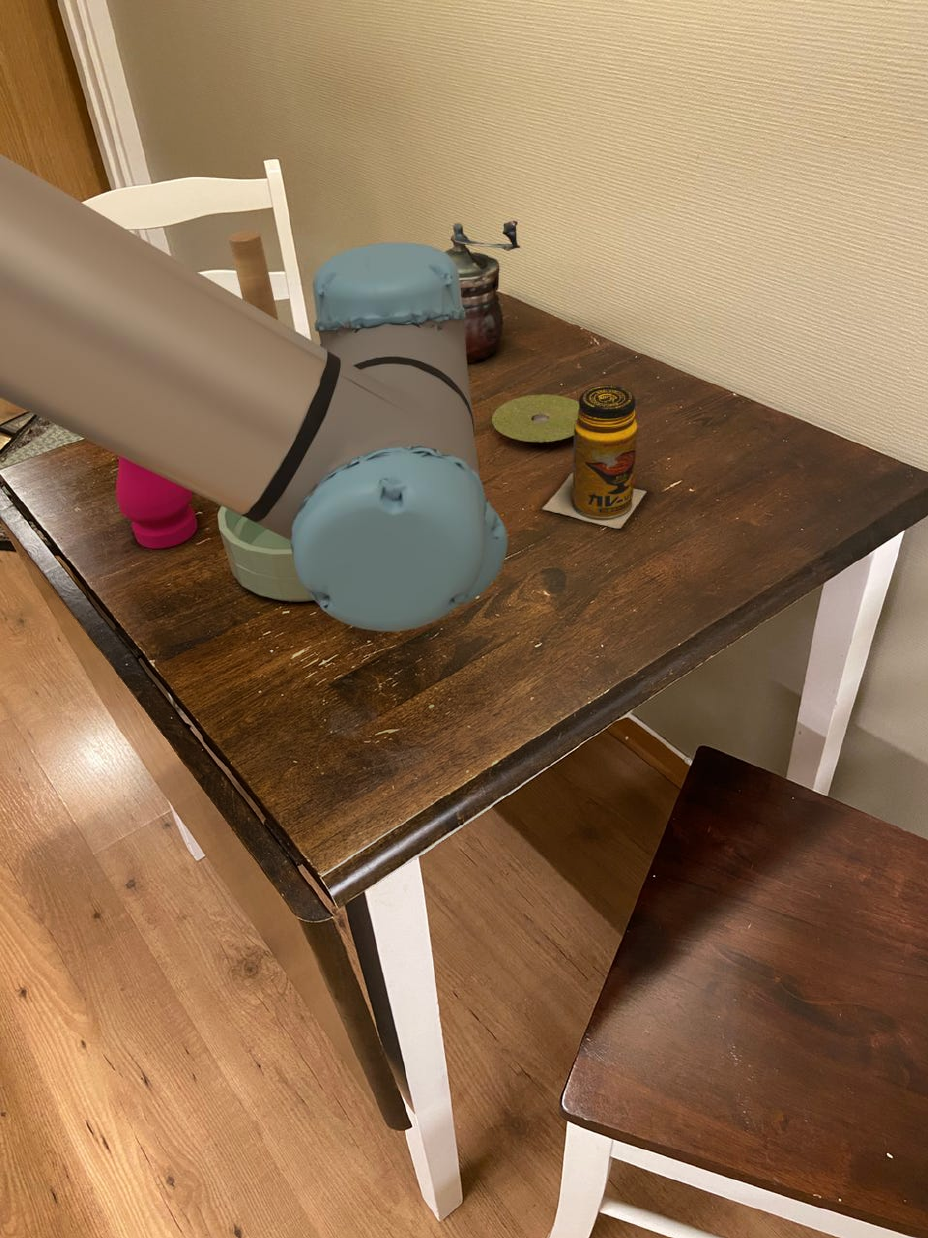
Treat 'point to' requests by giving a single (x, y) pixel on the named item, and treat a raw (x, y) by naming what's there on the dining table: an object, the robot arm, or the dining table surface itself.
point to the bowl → (260, 558)
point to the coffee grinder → (480, 291)
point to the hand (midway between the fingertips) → (252, 339)
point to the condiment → (602, 460)
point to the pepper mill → (154, 506)
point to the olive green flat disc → (537, 418)
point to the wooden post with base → (253, 271)
